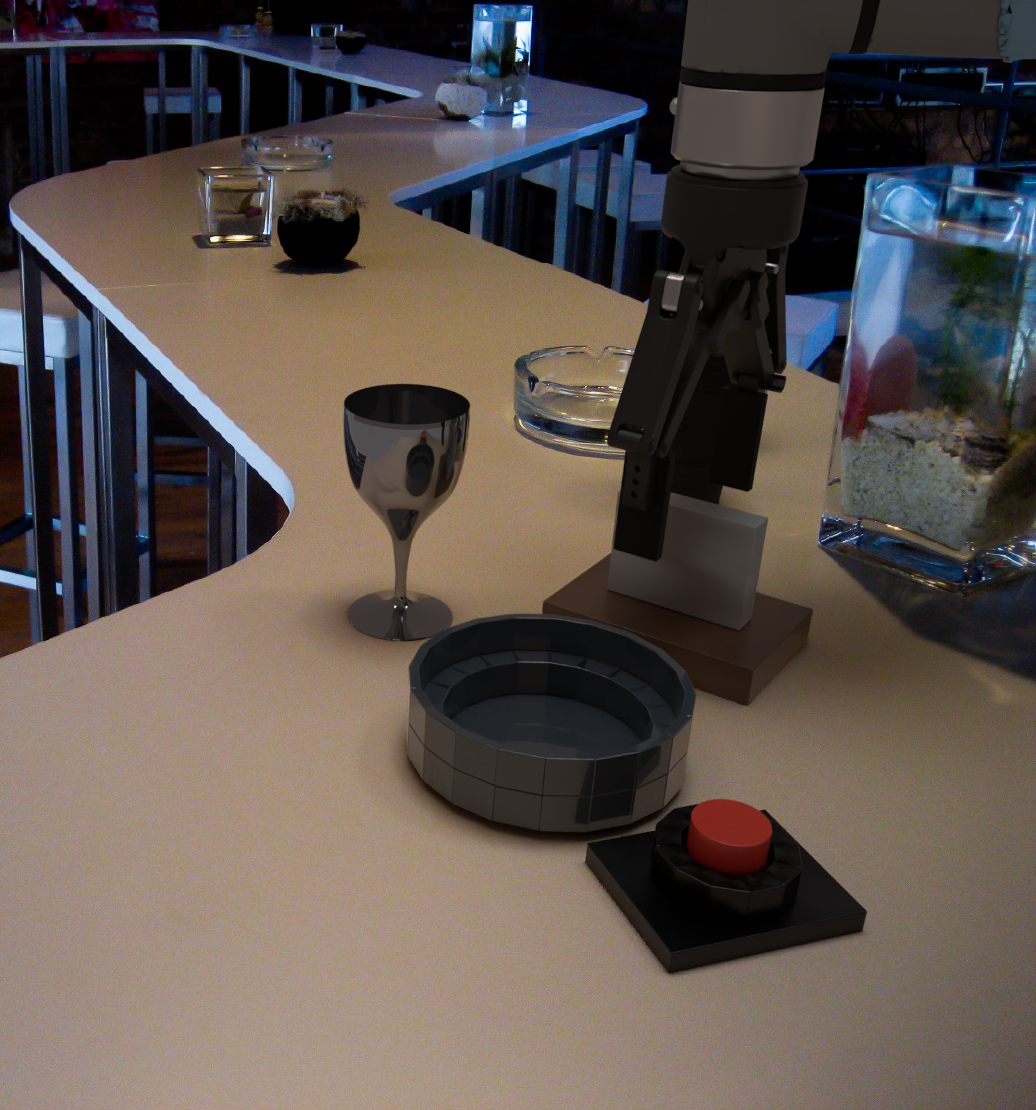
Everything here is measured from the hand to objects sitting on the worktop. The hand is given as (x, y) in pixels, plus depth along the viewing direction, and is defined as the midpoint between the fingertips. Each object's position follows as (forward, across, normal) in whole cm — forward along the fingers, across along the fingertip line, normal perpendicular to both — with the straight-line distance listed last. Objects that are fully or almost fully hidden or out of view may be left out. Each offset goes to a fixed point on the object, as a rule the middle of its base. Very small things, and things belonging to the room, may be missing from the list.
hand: (686, 518), depth 81 cm
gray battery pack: (+6, 0, 0) cm, 6 cm away
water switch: (+8, +22, +13) cm, 27 cm away
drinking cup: (+9, -22, -9) cm, 25 cm away
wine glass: (+9, +8, -16) cm, 20 cm away
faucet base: (+9, 0, 0) cm, 9 cm away
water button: (+6, +22, +13) cm, 26 cm away
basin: (+9, +17, 0) cm, 19 cm away
